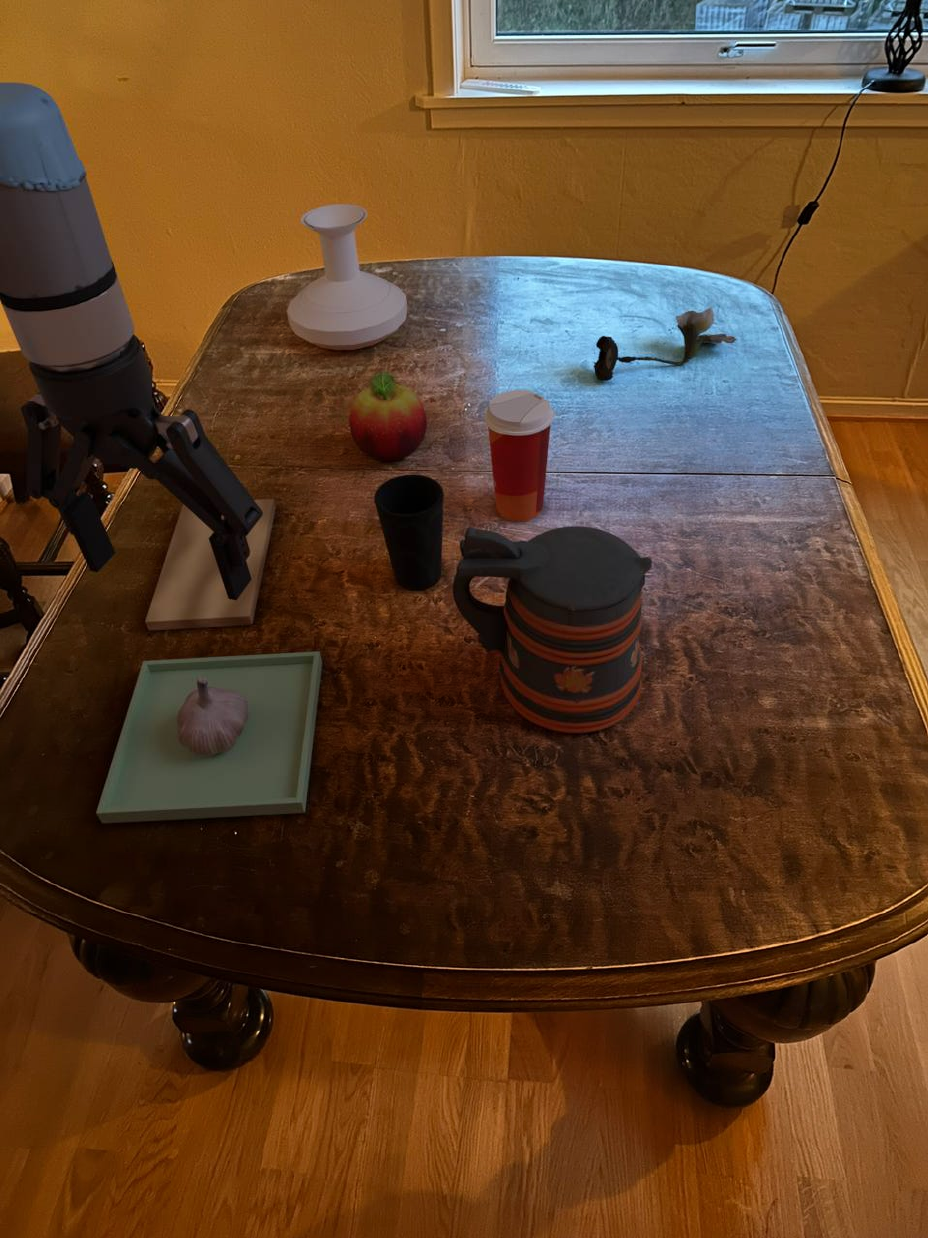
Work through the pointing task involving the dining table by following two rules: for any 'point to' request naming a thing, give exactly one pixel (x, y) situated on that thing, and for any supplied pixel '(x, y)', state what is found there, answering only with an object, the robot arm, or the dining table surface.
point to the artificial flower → (689, 327)
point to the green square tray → (228, 781)
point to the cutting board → (206, 577)
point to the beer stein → (560, 622)
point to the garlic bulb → (211, 719)
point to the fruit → (387, 420)
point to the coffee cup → (519, 451)
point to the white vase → (344, 289)
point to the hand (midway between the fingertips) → (170, 575)
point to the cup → (412, 528)
